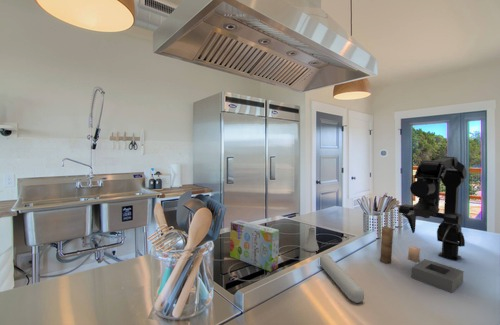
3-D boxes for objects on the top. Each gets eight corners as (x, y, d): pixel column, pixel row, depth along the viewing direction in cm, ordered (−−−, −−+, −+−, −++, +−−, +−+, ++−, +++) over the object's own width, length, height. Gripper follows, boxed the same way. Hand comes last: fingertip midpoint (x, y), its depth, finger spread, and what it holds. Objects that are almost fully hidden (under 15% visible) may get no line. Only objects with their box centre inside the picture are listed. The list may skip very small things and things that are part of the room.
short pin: (410, 256, 112) (410, 245, 112) (420, 260, 109) (421, 248, 108) (406, 259, 109) (407, 247, 109) (416, 262, 106) (417, 250, 106)
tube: (370, 292, 76) (333, 256, 101) (355, 287, 76) (321, 252, 100) (364, 308, 77) (328, 268, 101) (348, 304, 76) (316, 264, 101)
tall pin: (383, 258, 109) (384, 226, 109) (392, 262, 106) (394, 228, 105) (378, 260, 107) (380, 227, 106) (388, 264, 104) (390, 230, 103)
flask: (306, 245, 123) (307, 224, 122) (321, 249, 118) (322, 227, 118) (300, 249, 117) (301, 228, 116) (315, 254, 113) (316, 231, 112)
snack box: (278, 267, 99) (280, 229, 98) (270, 272, 95) (272, 233, 94) (237, 252, 112) (238, 218, 111) (228, 256, 108) (229, 221, 107)
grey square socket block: (424, 268, 101) (424, 258, 100) (462, 281, 91) (463, 271, 91) (411, 277, 93) (412, 266, 93) (451, 292, 84) (452, 281, 84)
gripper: (393, 192, 97) (390, 233, 98) (454, 201, 82) (451, 249, 83) (405, 190, 103) (403, 228, 104) (464, 198, 89) (461, 242, 89)
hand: (427, 236), depth 95 cm, fingers open, 9 cm apart
